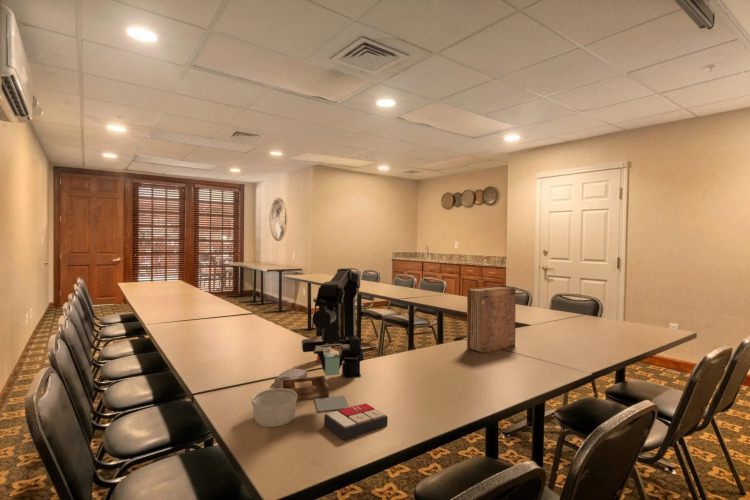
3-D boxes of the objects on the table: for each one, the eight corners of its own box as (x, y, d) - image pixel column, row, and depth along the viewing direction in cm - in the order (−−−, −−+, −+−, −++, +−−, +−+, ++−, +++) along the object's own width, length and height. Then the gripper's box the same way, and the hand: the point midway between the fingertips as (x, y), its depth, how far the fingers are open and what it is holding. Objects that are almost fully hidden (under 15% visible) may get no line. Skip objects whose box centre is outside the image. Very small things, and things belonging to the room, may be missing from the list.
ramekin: (287, 431, 109) (286, 407, 109) (243, 427, 112) (243, 403, 112) (303, 411, 122) (303, 389, 122) (264, 408, 125) (264, 386, 125)
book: (481, 353, 185) (481, 290, 184) (466, 349, 192) (466, 288, 192) (515, 345, 199) (515, 287, 198) (500, 342, 206) (500, 285, 206)
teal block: (337, 370, 130) (337, 353, 130) (339, 374, 126) (339, 357, 126) (323, 371, 129) (323, 354, 129) (325, 375, 125) (325, 358, 125)
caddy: (324, 384, 145) (324, 375, 145) (328, 397, 133) (328, 387, 133) (279, 389, 141) (279, 379, 141) (280, 402, 129) (280, 391, 129)
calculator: (388, 413, 113) (344, 426, 104) (387, 428, 113) (343, 442, 104) (366, 401, 122) (323, 411, 113) (365, 415, 121) (323, 426, 112)
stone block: (273, 392, 143) (298, 388, 142) (270, 379, 144) (295, 375, 142) (286, 381, 155) (309, 378, 153) (284, 369, 155) (307, 366, 154)
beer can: (333, 359, 177) (333, 324, 177) (327, 363, 171) (327, 326, 171) (320, 357, 179) (320, 323, 179) (314, 361, 173) (314, 325, 173)
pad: (343, 396, 134) (343, 395, 134) (349, 408, 124) (349, 407, 124) (314, 399, 131) (314, 398, 131) (318, 412, 121) (318, 411, 121)
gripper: (354, 316, 137) (354, 360, 138) (300, 319, 132) (300, 364, 133) (361, 322, 127) (361, 370, 127) (302, 325, 122) (303, 375, 122)
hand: (331, 369), depth 127 cm, fingers closed on teal block, 4 cm apart
